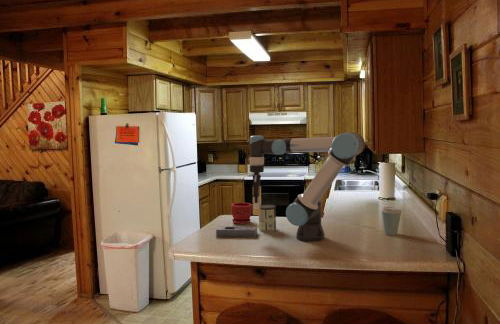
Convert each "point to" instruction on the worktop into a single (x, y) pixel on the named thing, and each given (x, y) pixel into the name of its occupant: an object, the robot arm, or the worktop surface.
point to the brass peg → (258, 211)
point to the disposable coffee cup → (391, 220)
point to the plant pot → (241, 216)
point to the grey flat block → (236, 231)
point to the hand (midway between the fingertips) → (256, 207)
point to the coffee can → (267, 218)
